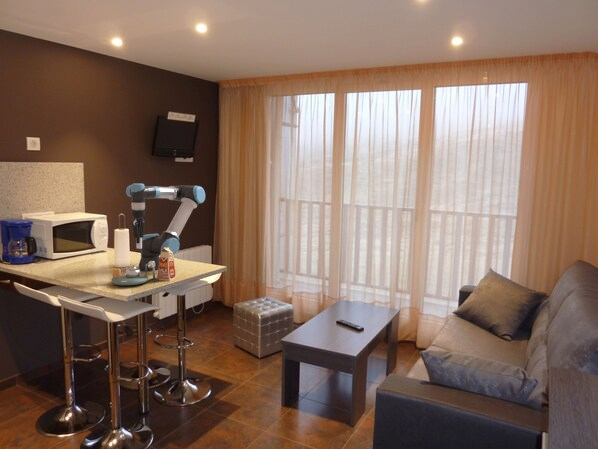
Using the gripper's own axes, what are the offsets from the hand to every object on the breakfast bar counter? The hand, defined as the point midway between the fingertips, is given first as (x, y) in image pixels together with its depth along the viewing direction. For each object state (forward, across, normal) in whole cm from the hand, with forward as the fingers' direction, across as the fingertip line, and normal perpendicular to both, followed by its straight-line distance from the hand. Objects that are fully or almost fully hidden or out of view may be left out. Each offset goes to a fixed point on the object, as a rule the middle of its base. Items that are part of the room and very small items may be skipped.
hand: (139, 248), depth 276 cm
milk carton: (+19, -2, +16) cm, 25 cm away
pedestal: (+18, +13, 0) cm, 23 cm away
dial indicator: (+18, +6, +10) cm, 22 cm away
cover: (+15, +9, 0) cm, 18 cm away
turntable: (+17, +13, 0) cm, 21 cm away
